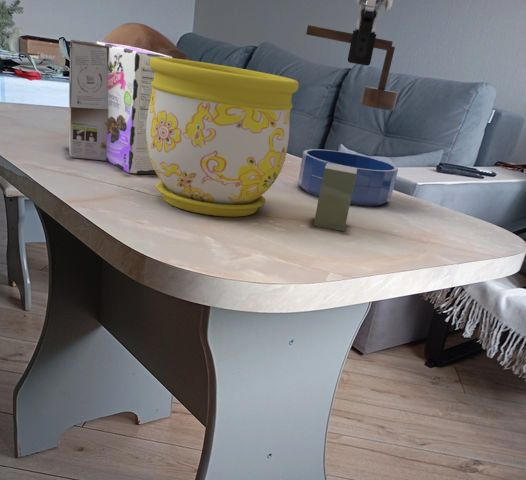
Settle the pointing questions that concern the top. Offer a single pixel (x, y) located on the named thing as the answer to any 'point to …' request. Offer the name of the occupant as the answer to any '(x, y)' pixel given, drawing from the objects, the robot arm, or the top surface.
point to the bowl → (367, 178)
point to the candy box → (129, 107)
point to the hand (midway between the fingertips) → (358, 63)
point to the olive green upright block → (335, 196)
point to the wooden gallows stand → (380, 95)
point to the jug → (143, 39)
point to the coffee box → (88, 100)
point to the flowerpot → (217, 134)
